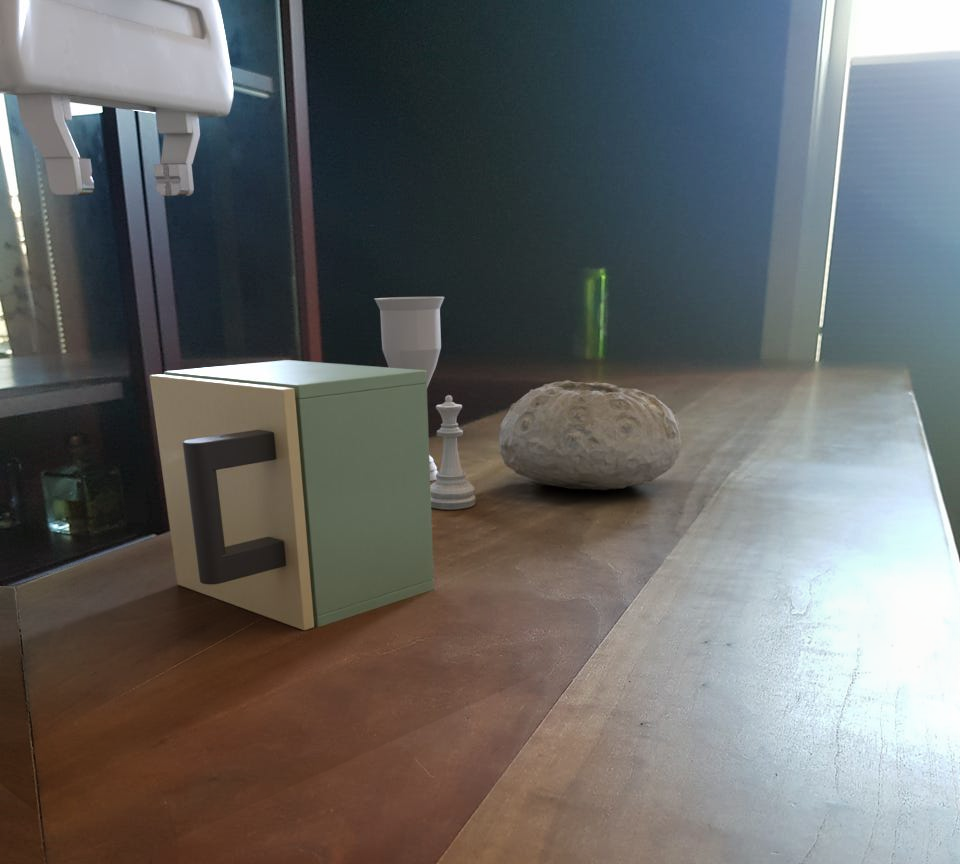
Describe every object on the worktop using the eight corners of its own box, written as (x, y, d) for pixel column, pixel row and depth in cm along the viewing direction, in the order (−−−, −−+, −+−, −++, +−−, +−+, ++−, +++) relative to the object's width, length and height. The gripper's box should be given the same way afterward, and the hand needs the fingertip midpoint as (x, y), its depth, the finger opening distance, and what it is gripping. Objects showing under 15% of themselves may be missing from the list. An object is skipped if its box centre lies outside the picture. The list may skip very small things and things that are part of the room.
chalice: (414, 468, 109) (406, 296, 102) (463, 474, 105) (458, 296, 98) (370, 480, 103) (359, 299, 97) (420, 486, 99) (412, 299, 93)
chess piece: (419, 507, 90) (415, 397, 87) (441, 498, 94) (438, 391, 91) (462, 511, 89) (459, 399, 85) (483, 501, 92) (481, 393, 89)
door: (229, 655, 56) (199, 399, 51) (106, 603, 65) (70, 382, 60) (314, 627, 60) (294, 388, 55) (187, 582, 69) (160, 374, 64)
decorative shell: (678, 470, 105) (683, 374, 101) (680, 508, 88) (686, 395, 85) (512, 468, 108) (512, 374, 104) (485, 504, 91) (483, 394, 88)
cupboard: (318, 628, 60) (298, 384, 55) (190, 583, 70) (163, 371, 64) (434, 590, 67) (426, 370, 62) (303, 553, 76) (287, 359, 71)
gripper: (157, -47, 61) (185, 196, 67) (-121, -147, 44) (-51, 194, 49) (246, -55, 59) (266, 196, 65) (-7, -163, 42) (52, 194, 47)
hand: (128, 195), depth 57 cm, fingers open, 8 cm apart
